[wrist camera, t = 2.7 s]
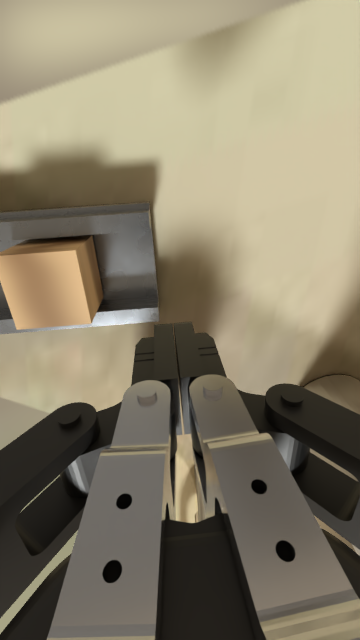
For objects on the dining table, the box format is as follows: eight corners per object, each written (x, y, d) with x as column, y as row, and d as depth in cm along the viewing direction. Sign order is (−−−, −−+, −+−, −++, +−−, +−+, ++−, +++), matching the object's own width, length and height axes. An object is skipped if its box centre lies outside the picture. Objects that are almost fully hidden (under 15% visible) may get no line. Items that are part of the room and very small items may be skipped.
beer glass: (203, 380, 31) (239, 540, 17) (175, 426, 33) (187, 596, 20) (141, 358, 29) (126, 516, 16) (116, 409, 32) (85, 581, 18)
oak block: (92, 235, 22) (75, 250, 18) (103, 296, 25) (91, 323, 20) (25, 240, 22) (-9, 256, 18) (42, 301, 24) (16, 329, 20)
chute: (149, 201, 23) (147, 205, 20) (159, 308, 27) (159, 325, 24) (-145, 221, 22) (-195, 229, 19) (-90, 328, 26) (-124, 348, 23)
